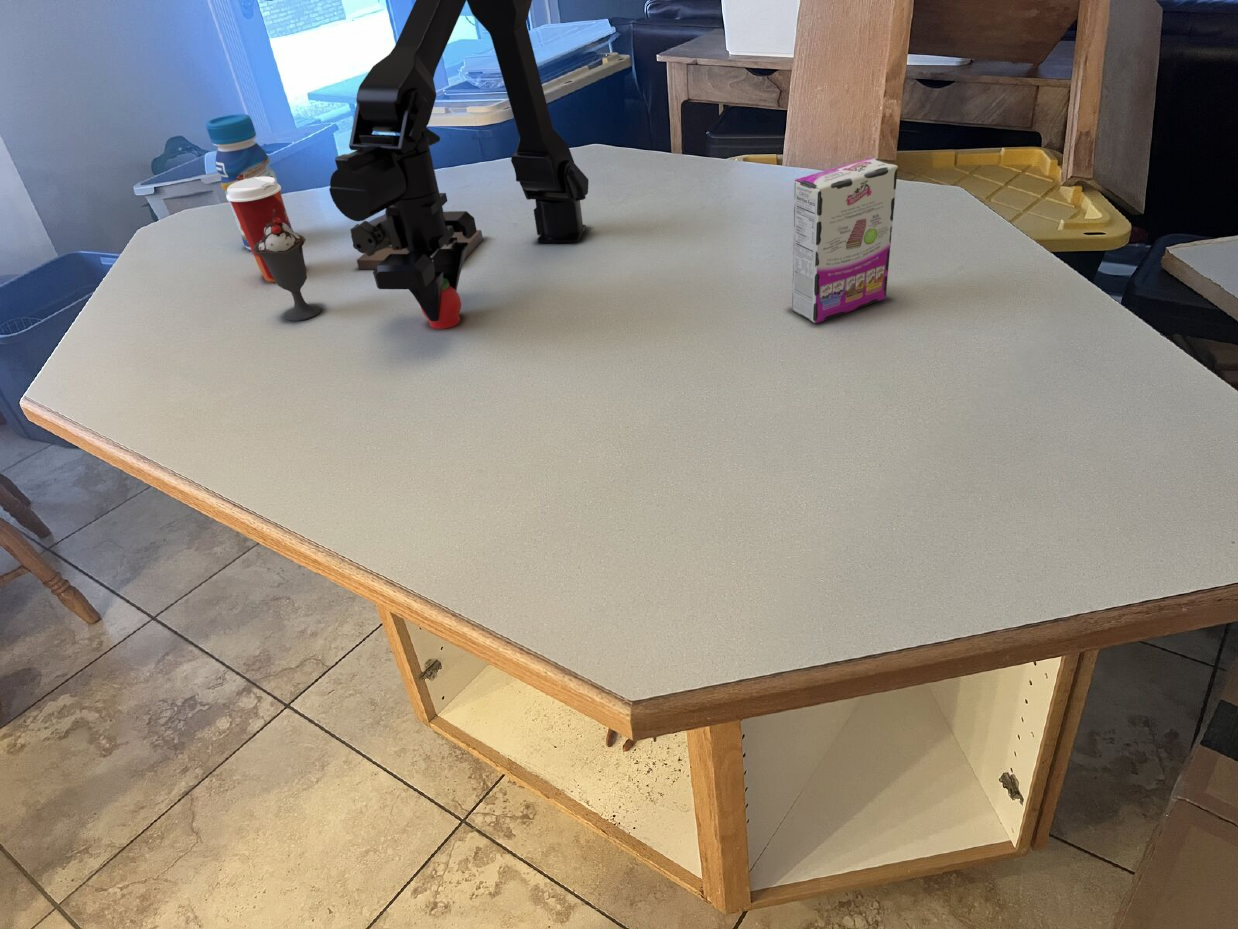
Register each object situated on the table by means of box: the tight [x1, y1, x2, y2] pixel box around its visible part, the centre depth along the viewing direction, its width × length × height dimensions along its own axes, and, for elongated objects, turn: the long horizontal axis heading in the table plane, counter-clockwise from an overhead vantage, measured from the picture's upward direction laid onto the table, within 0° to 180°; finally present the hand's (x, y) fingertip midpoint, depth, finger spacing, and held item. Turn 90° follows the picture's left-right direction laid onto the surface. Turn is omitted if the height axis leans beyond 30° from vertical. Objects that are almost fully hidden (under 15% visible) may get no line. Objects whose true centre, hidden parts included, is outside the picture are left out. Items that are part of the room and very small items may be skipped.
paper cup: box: [226, 176, 290, 283], centre depth 123 cm, size 8×8×14 cm
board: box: [356, 229, 484, 270], centre depth 128 cm, size 16×12×2 cm
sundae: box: [253, 209, 322, 322], centre depth 110 cm, size 7×7×15 cm
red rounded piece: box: [419, 278, 462, 330], centre depth 106 cm, size 5×5×6 cm
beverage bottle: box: [205, 113, 294, 251], centre depth 133 cm, size 8×8×20 cm
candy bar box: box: [791, 157, 899, 324], centre depth 97 cm, size 11×5×16 cm, turn 117°
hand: (442, 311), depth 107 cm, fingers closed on red rounded piece, 5 cm apart
